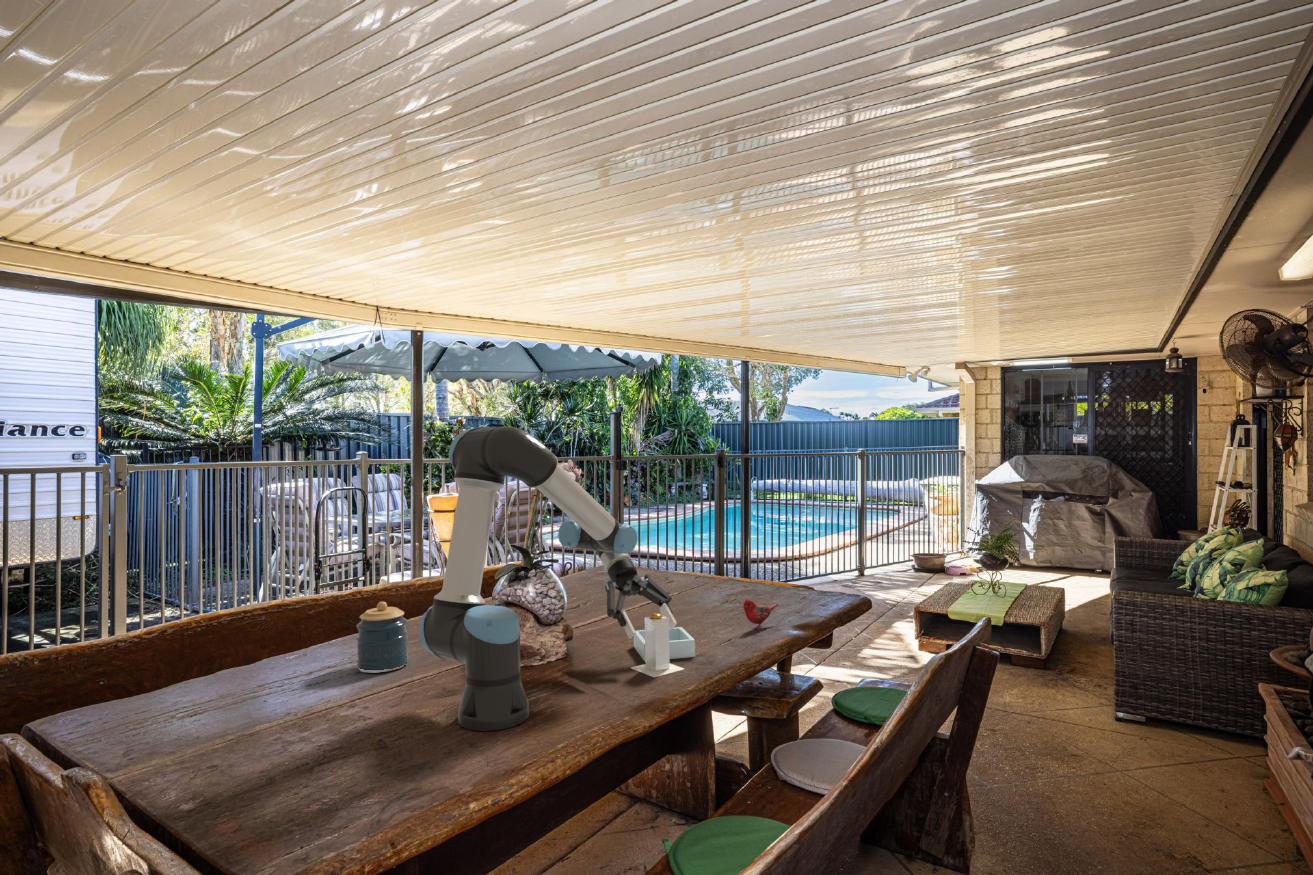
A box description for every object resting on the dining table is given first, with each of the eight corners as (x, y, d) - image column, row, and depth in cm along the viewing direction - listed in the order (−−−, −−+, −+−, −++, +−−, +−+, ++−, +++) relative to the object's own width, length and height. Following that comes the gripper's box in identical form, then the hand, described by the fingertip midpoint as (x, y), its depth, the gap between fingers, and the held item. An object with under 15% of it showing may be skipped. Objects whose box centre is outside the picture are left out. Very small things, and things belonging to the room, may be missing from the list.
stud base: (654, 683, 179) (653, 660, 179) (630, 673, 187) (629, 652, 187) (685, 674, 185) (684, 653, 185) (660, 665, 193) (660, 644, 193)
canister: (364, 677, 188) (363, 609, 188) (351, 665, 198) (350, 601, 198) (414, 667, 195) (413, 602, 195) (400, 656, 206) (399, 594, 206)
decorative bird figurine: (739, 632, 225) (738, 599, 225) (775, 621, 237) (774, 591, 237) (746, 633, 223) (746, 601, 223) (782, 623, 235) (782, 592, 235)
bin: (644, 666, 192) (643, 643, 192) (634, 651, 206) (633, 630, 206) (695, 662, 196) (694, 639, 196) (681, 647, 209) (681, 627, 209)
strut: (656, 672, 183) (655, 617, 183) (645, 667, 186) (644, 614, 187) (669, 668, 186) (668, 614, 186) (659, 664, 189) (658, 611, 189)
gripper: (648, 568, 211) (683, 630, 199) (575, 580, 195) (608, 648, 183) (660, 552, 207) (696, 614, 195) (586, 562, 191) (620, 631, 179)
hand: (653, 630), depth 189 cm, fingers open, 13 cm apart
